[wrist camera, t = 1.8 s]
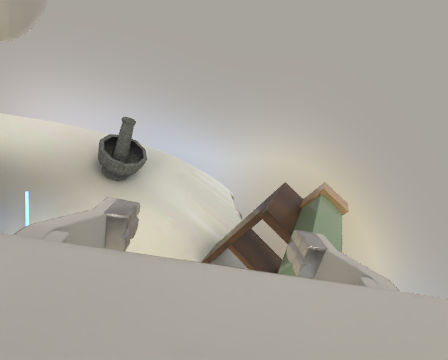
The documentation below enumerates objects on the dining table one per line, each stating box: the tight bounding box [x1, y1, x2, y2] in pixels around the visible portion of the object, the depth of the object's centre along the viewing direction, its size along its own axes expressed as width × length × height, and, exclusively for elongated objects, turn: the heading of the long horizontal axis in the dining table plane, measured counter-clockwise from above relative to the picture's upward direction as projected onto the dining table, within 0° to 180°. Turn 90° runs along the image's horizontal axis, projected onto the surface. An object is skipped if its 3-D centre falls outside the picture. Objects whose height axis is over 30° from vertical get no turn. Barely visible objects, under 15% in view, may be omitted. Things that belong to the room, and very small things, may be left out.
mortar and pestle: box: [98, 117, 147, 181], centre depth 48 cm, size 11×9×12 cm
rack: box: [201, 183, 303, 274], centre depth 42 cm, size 12×14×24 cm
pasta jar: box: [278, 183, 348, 276], centre depth 30 cm, size 20×5×5 cm, turn 147°
